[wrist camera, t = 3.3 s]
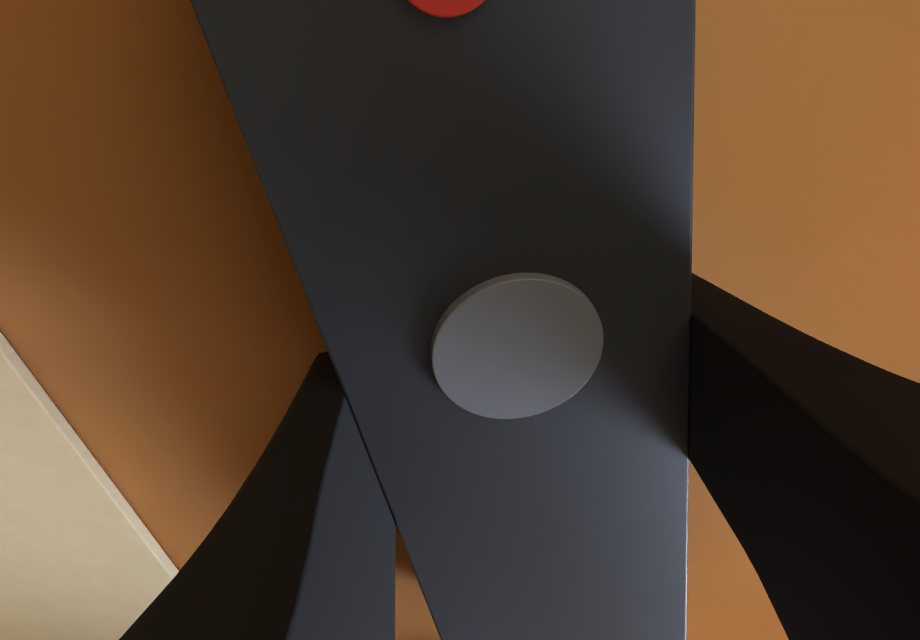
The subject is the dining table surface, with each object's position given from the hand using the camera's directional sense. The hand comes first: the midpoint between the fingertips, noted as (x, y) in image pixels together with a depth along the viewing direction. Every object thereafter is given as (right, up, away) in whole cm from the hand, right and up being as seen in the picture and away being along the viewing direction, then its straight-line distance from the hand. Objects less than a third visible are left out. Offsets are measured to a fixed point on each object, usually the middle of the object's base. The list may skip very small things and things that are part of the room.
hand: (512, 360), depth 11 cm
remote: (0, +1, +1) cm, 1 cm away
